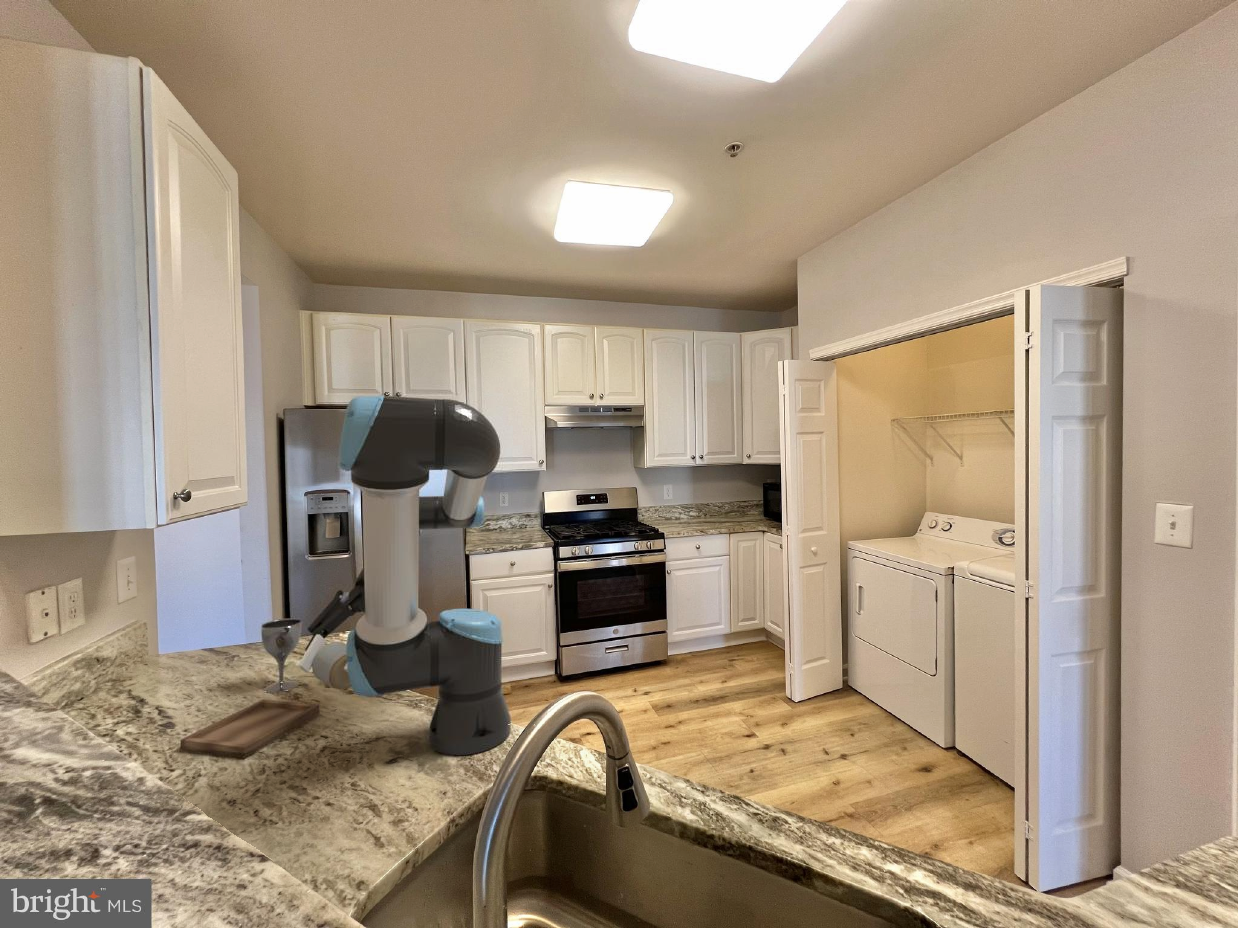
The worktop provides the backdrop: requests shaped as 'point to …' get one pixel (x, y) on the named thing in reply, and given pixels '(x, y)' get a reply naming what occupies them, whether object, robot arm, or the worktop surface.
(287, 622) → the wine glass
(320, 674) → the ceramic mug
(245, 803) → the worktop surface
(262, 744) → the walnut tray
